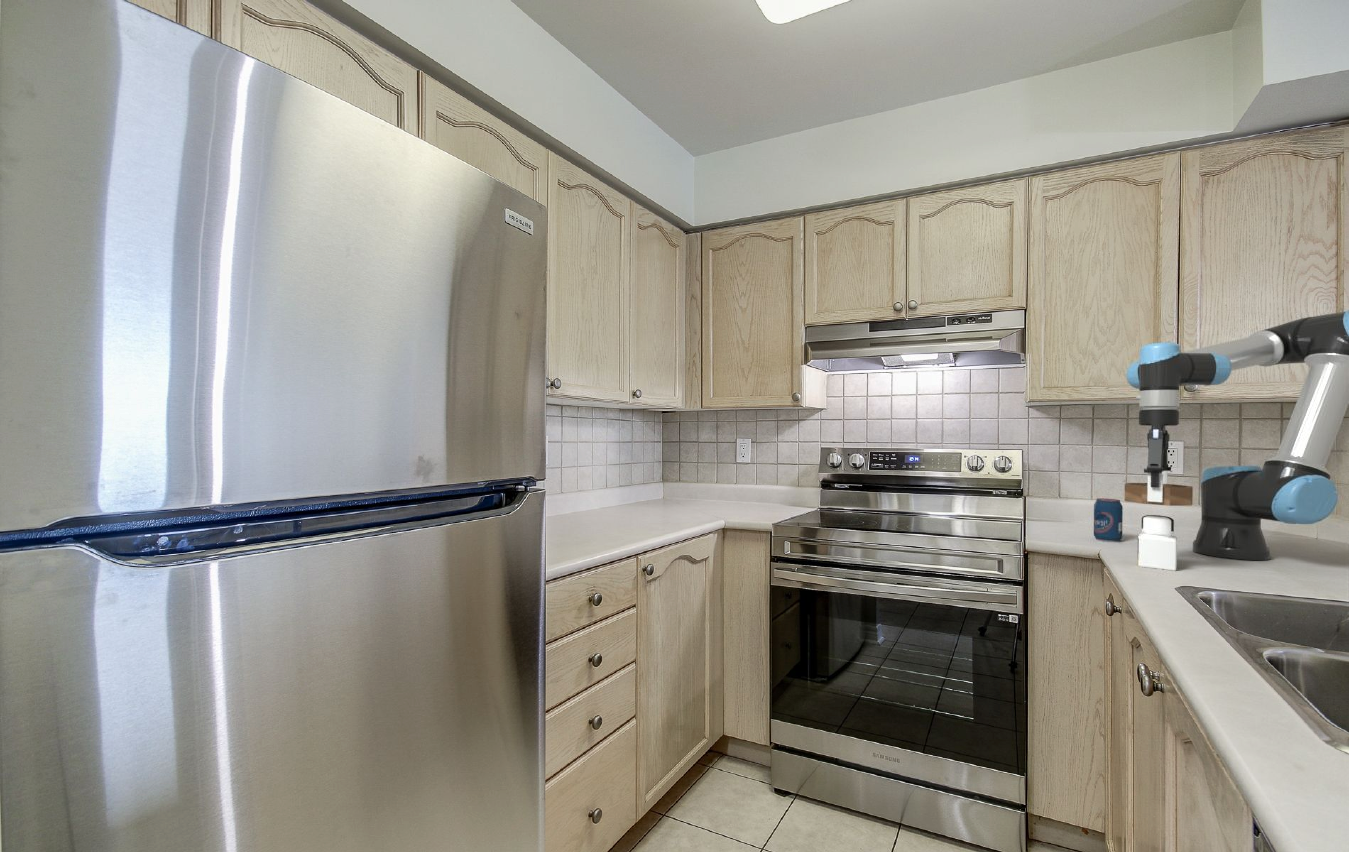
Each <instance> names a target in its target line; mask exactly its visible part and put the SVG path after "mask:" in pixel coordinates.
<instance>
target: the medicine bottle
mask: <svg viewBox="0 0 1349 852" xmlns="http://www.w3.org/2000/svg"><path fill="white" fill-rule="evenodd" d="M1174 534H1175V520H1174V519H1173V518H1172V517H1170V516H1167V515H1160V514H1159V515H1158V514H1146V515H1143V516H1142V517H1141V532H1140V533H1139V535H1138V537H1137V567H1138V568H1146V569H1154V568H1157V569H1156V570H1162V569H1164V571H1170V570H1171V571H1172V572H1176V571H1177V568H1178V567H1177V566H1178V537H1177V536H1176V535H1174Z"/></svg>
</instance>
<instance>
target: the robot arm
mask: <svg viewBox="0 0 1349 852" xmlns="http://www.w3.org/2000/svg"><path fill="white" fill-rule="evenodd" d="M1180 347H1181V346H1180V344H1178V343H1177V342H1155V343H1149V344H1145V345H1143V346H1141V348H1140V351H1139V361H1135V362H1132V363H1131V364H1130V365H1129V366H1128V368H1127V370H1126V374H1125V375H1126V380H1127V383H1128V384H1129V385H1130V386H1131V387H1132V388H1134V389H1138V390H1139V394H1137V395H1136V397H1135V399H1136V400H1139V406H1138V407H1139V408H1141V409H1140V410H1139V411H1138V424H1139V425H1140V426H1145V427H1146V426H1151V428H1150V429H1149V430H1148V433H1147V435H1146V439H1147V449H1148V451H1147V452H1148V453H1147V466H1146V467H1145V468H1143V472H1144V473H1147V483H1148V493H1147V501H1150V502H1163V484H1168V475H1169V474H1168V472H1171V471H1172V466H1169V459H1168V450H1169V443H1170V433H1169V431H1168V430H1167V429H1166V428H1167V426H1170V427H1172V426H1178V425H1179V424H1180V411H1179V410H1178V409H1177V408H1179V407H1180V398H1181V397H1180V394H1181V393H1180V392H1181V391H1180V387H1188V386H1205V387H1207V386H1218V385H1221V384H1223V383H1226V381H1227V380H1228V379H1229V378H1230V376H1231V373H1232V371H1237V370H1241V369H1246V368H1250V367H1255V366H1260V367H1265V368H1266V367H1273V366H1276V365H1286V364H1306V366H1308V368H1309V369H1308V372H1307V375H1306V377H1305V379H1304V381H1303V385H1302V386H1301V387H1302V388H1301V390H1300V393H1299V396H1298V397H1297V401H1296V404H1295V406H1294V409H1293V411H1292V414H1291V416H1290V419H1289V422H1288V424H1287V427H1286V429H1285V431H1284V434H1283V437H1282V438H1281V439H1282V440H1281V442H1280V445H1279V448H1278V451H1277V453H1276V455H1275V456H1274V457H1270V458H1268V459H1266V460H1265V461H1264V464H1263V466H1262V467H1260V466H1259V465H1232V466H1231V465H1228V466H1227V465H1225V466H1224V465H1223V466H1212V467H1211V466H1210V467H1208V468H1205V469H1204V470H1203V472H1202V473H1201V475H1202V476H1201V481H1200V485H1201V486H1200V487H1201V488H1200V490H1201V491H1200V495H1201V497H1200V498H1201V501H1200V502H1201V503H1200V505H1201V509H1200V510H1201V512H1200V513H1201V519H1200V521H1201V523H1200V525H1199V528H1198V531H1197V533H1196V537H1195V539H1194V540H1193V541H1192V551H1193V552H1194V553H1197V554H1200V555H1201V554H1202V555H1206V556H1211V557H1216V558H1217V557H1218V558H1224V559H1232V560H1233V559H1235V560H1245V561H1249V560H1250V561H1267V560H1270V559H1271V550H1270V548H1269V547H1268V546H1267V542H1266V538H1265V536H1264V533H1263V530H1262V526H1261V521H1262V520H1267V521H1273V522H1280V523H1285V524H1289V525H1296V524H1298V525H1313V524H1316V523H1319V522H1321V521H1324V520H1325V519H1326V518H1328V517H1329V516H1330V515H1331V514H1332V513H1333V512H1334V510H1335V508H1336V506H1337V504H1338V500H1339V499H1338V498H1339V494H1338V493H1337V490H1338V489H1337V487H1336V485H1335V483H1334V482H1332V481H1331V480H1330V479H1331V478H1332V477H1331V476H1332V475H1331V473H1330V472H1329V470H1328V469H1327V468H1326V467H1325V466H1326V464H1327V462H1328V459H1329V457H1330V454H1331V451H1332V449H1333V446H1334V444H1335V440H1336V438H1337V435H1338V433H1339V429H1340V427H1341V426H1342V425H1341V424H1342V422H1343V420H1344V417H1345V414H1346V412H1347V409H1348V407H1349V310H1346V311H1339V312H1334V313H1328V314H1320V315H1315V316H1308V317H1304V318H1303V317H1302V318H1298V319H1296V320H1295V319H1294V320H1291V321H1289V322H1285V323H1282V324H1279V325H1276V326H1273V327H1270V328H1267V329H1266V328H1265V329H1262V330H1257V331H1255V332H1253V333H1251V334H1250V335H1249V336H1248V337H1244V338H1240V339H1235V340H1230V341H1225V342H1222V343H1217V344H1212V345H1208V346H1204V347H1199V348H1194V349H1190V350H1186V351H1183V352H1181V348H1180Z"/></svg>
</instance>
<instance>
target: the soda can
mask: <svg viewBox="0 0 1349 852" xmlns="http://www.w3.org/2000/svg"><path fill="white" fill-rule="evenodd" d="M1123 509H1124V507H1123V505H1122V503H1121V500H1120V499H1115V498H1104V497H1103V498H1099V497H1098V498H1096V500H1095V502H1094V504H1093V536H1094V538H1095V539H1096V540H1097V541H1100V542H1107V543H1120V541H1121V540H1122V539H1123V515H1124V514H1123Z"/></svg>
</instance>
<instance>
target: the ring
mask: <svg viewBox="0 0 1349 852" xmlns="http://www.w3.org/2000/svg"><path fill="white" fill-rule="evenodd" d="M1193 488H1194V487H1193V486H1192V485H1183V484H1182V485H1181V484H1173V483H1167V484H1163V502H1150V501H1147V493H1148V482H1126V483H1124V501H1125V502H1131V503H1136V504H1144V505H1156V506H1157V505H1158V506H1171V507H1172V506H1173V507H1174V506H1175V507H1176V506H1186V507H1187V506H1189V507H1190V506H1193V497H1194V496H1193V491H1194V489H1193Z"/></svg>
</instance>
